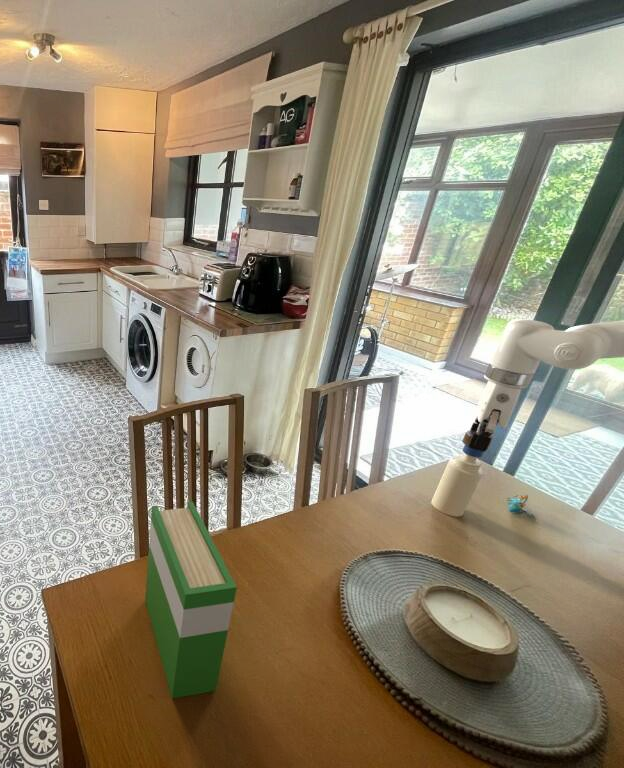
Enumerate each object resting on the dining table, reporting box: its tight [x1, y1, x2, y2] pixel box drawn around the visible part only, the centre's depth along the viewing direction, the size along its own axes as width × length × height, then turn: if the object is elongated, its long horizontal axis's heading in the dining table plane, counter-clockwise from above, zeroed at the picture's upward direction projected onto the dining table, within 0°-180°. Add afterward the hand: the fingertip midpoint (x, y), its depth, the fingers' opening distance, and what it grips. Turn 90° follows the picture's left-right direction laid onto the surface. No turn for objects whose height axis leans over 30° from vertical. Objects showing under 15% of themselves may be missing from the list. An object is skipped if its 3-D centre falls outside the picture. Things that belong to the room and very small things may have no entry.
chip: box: [462, 429, 494, 451], centre depth 98 cm, size 5×5×3 cm
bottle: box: [431, 444, 485, 517], centre depth 103 cm, size 7×7×19 cm
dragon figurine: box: [507, 494, 536, 518], centre depth 107 cm, size 6×7×8 cm
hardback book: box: [144, 501, 238, 700], centre depth 69 cm, size 18×7×24 cm, turn 10°
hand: (476, 443), depth 99 cm, fingers closed on chip, 4 cm apart
